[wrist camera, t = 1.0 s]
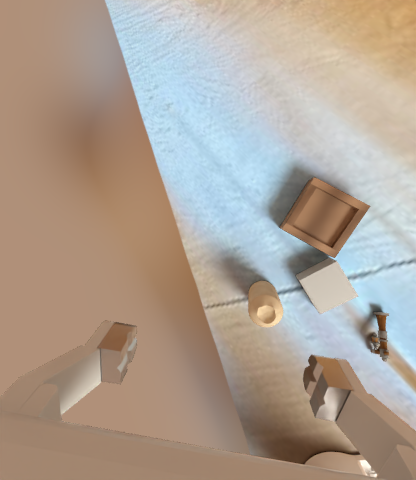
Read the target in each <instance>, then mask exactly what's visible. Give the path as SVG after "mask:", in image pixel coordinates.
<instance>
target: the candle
mask: <svg viewBox="0 0 416 480" xmlns="http://www.w3.org/2000/svg"><path fill="white" fill-rule="evenodd" d="M248 311H249V316H250V318H251V319H252V321H253V322H254V323H256V324H257V325H259V326H262V327H271V326H274V325H276V324H277V323H278V322H279V321H280V320H281V318H282V316H283V308H282V305H281V302H280V299H279V297H278V294H277V291H276V289H275V287H274V286H273V285H272V284H271V283H269V282H267V281H258V282H255V283H254V284H253V285H252V286H251V287H250V289H249V295H248Z"/></svg>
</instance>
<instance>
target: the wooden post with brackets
mask: <svg viewBox="0 0 416 480" xmlns="http://www.w3.org/2000/svg"><path fill="white" fill-rule="evenodd" d="M373 314H375V315H376V317H377V321H378V326H379V331H378V335H379V336H378V337H377V335H376V334H375V333H374V334H373V336H374V337H373V336H371V338H372V342H371V343H373V346H374V347H375V348H376V347H378V346H376V345H377V344H380V346H379V348H378V349H377V348H376V349H377V350H375V348H374V349H371V352H372V353H375V354H380V357H382V360H383V361H385V362H386V361H387V358H389V352H388V350H387V342H388V340H386V339H388V338H387V332H386V328H385V327H386V316H389V314H388V313H381V312H373ZM378 339H379V341H380V343H379V342H378Z"/></svg>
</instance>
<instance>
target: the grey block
mask: <svg viewBox="0 0 416 480" xmlns="http://www.w3.org/2000/svg"><path fill="white" fill-rule="evenodd" d="M295 276H296V277H297V279H298V281H299V282H300V284H301V285H302V287H303V289H304V290H305V292H306V294H307V295H308V297H309V299H310V300H311V302H312V303H313V305H314V307H315V308H316V309H317V311H318V312H319V313H320V314H322V313H324V312H326V311H328V310H330V309H332V308H335V307H337V306H339V305H341V304H343V303H345V302H347V301H349V300H351V299H353V298H356V297H358V295H357V293H356V292H355V290H354V288H353V287H352V285H351V283H350V282H349V280H348V278H347V277H346V275H345V274H344V272H343V270H342V269H341V267H340V265H339V264H338V262H337V261H335V260H333V259H332V258H330V257H329V258H327V259H325V260H323V261H322V262H320V263H318V264H316V265H314V266H312V267H310V268H308V269H306V270H304V271H303V272H301V273H299V274H297V275H295Z"/></svg>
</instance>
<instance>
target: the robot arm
mask: <svg viewBox="0 0 416 480" xmlns="http://www.w3.org/2000/svg"><path fill="white" fill-rule="evenodd" d="M136 334H137V326H134V325H128V324H124V323H118V322H111V321H107V320H105V321H104V322H103V323H102V324H101V325H100V326H99V328H98V329H97V330H96V331H95V333H94V334H93V335H92V337H91V338H90V339H89V340H88V342H87V343H86V344H85V346H79V347H77V348H75V349H73V350H71V351H69V352H68V353H65V354H64V355H62V356H60V357H58V358H56V359H54V360H52V361H50V362H48V363H46V364H44V365H42V366H40V367H38V368H36V369H35V370H32V371H30V372H29V373H27V374H25V375H23V376H21V377H19V378H18V379H17V380H16V381H15V382H14V383H13V384H12V385H11V386H10V387H9V388H8V390H7V391H6V392H5V393H4V394H3V395H2V396H1V397H0V480H416V431H415V430H414V429H413V428H411V427H410V426H409V425H408V424H406V423H405V422H404V421H403V420H402V419H400V418H399V417H398V416H397V415H396V414H394V413H393V412H392V411H391V410H390V409H388V408H387V407H386V406H385V405H384V404H382V403H381V402H380V401H379V400H378V399H376V398H375V397H374V396H373V395H371V394H368V393H367V392H366V390H365V389H364V387H363V385H362V384H361V382H360V380H359V379H358V377H357V375H356V374H355V372H354V371H353V369H352V367H351V366H350V364H349V362H348V361H347V360H345V359H338V358H330V357H324V356H317V355H311V356H310V357H309V360H308V362H309V366H308V367H306V368H305V371H304V375H303V382H304V387H305V390H306V392H307V393H308V394H309V395H310V396H311V399H310V404H311V407H312V410H313V413H314V416H315V418H319V419H324V420H329V421H334V422H336V424H337V425H338V427H339V428H340V429H341V430H342V432H343V433H344V434H345V435H346V436H347V438H348V439H349V440H350V441H351V443H352V444H353V445H354V446H355V448H356V449H357V450H358V451H359V453H360V454H361V455H349V454H345V453H340V452H324V453H320V454H317V455H315V456H313V457H311V458H310V459H309V460H308V461H307V462H306V463H305V464H304V465H303V464H298V463H292V462H287V461H281V460H275V459H270V458H264V457H259V456H253V455H247V454H242V453H236V452H230V451H224V450H219V449H213V448H208V447H202V446H197V445H191V444H186V443H180V442H174V441H169V440H163V439H158V438H152V437H147V436H141V435H135V434H129V433H125V432H119V431H113V430H108V429H102V428H97V427H90V426H85V425H79V424H74V423H69V422H63V421H62V418H61V415H62V414H63V413H64V412H66V411H67V410H68V409H69V408H70V407H72V406H73V405H74V404H75V403H77V402H78V401H79V400H80V399H82V398H83V397H84V396H85V395H87V394H88V393H89V392H90V391H91V390H92V389H94V388H95V387H96V386H97V385H99V384H100V383H101V381H102V382H109V383H116V384H121V382H122V380H123V378H124V376H125V374H126V372H127V365H128V364H129V363H130V362H132V359H133V357H134V354H135V351H136V346H137V340H136V338H135V336H136Z"/></svg>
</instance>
